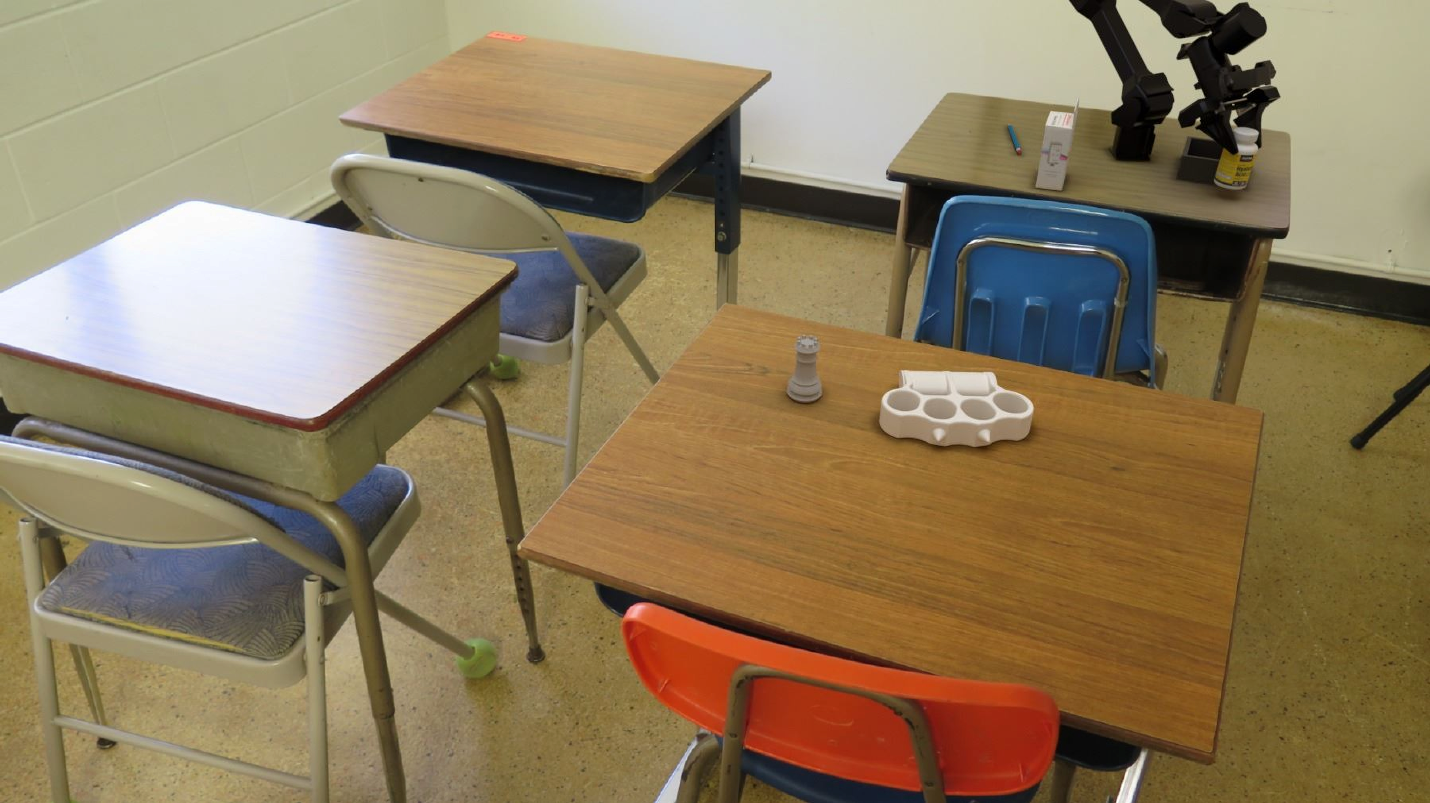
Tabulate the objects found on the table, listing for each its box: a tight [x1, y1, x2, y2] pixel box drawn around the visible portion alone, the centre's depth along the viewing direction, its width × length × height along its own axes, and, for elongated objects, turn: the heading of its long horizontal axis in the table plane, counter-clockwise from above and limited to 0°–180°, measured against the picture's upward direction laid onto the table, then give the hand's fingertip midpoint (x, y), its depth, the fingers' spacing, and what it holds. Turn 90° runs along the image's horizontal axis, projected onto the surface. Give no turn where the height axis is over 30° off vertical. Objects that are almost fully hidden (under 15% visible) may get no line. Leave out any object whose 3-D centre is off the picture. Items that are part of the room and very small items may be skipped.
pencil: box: [1007, 123, 1022, 155], centre depth 211 cm, size 1×17×1 cm, turn 174°
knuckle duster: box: [879, 369, 1035, 448], centre depth 128 cm, size 3×18×15 cm
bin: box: [1176, 135, 1246, 190], centre depth 195 cm, size 12×12×4 cm
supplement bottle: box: [1214, 126, 1259, 191], centre depth 183 cm, size 5×5×10 cm
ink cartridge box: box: [1035, 97, 1080, 192], centre depth 189 cm, size 9×5×15 cm, turn 160°
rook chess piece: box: [786, 334, 823, 404], centre depth 131 cm, size 4×4×8 cm
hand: (1247, 151), depth 181 cm, fingers closed on supplement bottle, 5 cm apart
